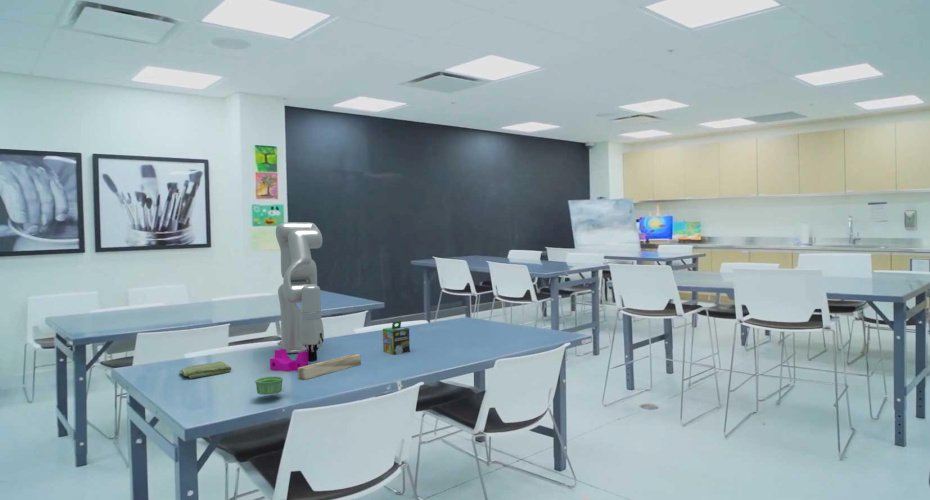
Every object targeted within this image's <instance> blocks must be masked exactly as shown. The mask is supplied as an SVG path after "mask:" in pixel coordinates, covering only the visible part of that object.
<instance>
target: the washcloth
mask: <svg viewBox="0 0 930 500" xmlns="http://www.w3.org/2000/svg"><path fill="white" fill-rule="evenodd" d="M231 371H232V366H230V365H228V364H226V362H224V361H220V360H219V361H216V362H210V363H203V364H197V365H196V364H195V365H192V366H191V365H190V366H188V367H184V368H181V369H180V370H179V373H180V374H181V373H182V374H181V375H182V376H184V377H186V376H187V378H189V379H195V378H202V377H206V376H207V377H209V376H213V375H214V376H216V375H220V374H225V373H229V372H231Z"/></svg>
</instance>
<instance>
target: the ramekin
mask: <svg viewBox="0 0 930 500" xmlns="http://www.w3.org/2000/svg"><path fill="white" fill-rule="evenodd" d="M283 379H284V378H283V377H282V376H279V375H277V376H276V375H272V376H271V375H270V376H264V377H260V378H256V379H255V380H254V382H255V386H256V392H257V394H259V395H262V396H265V395H266V396H267V395H274V394H275V395H276V394H278V393H281V392H282V390H283Z"/></svg>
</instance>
